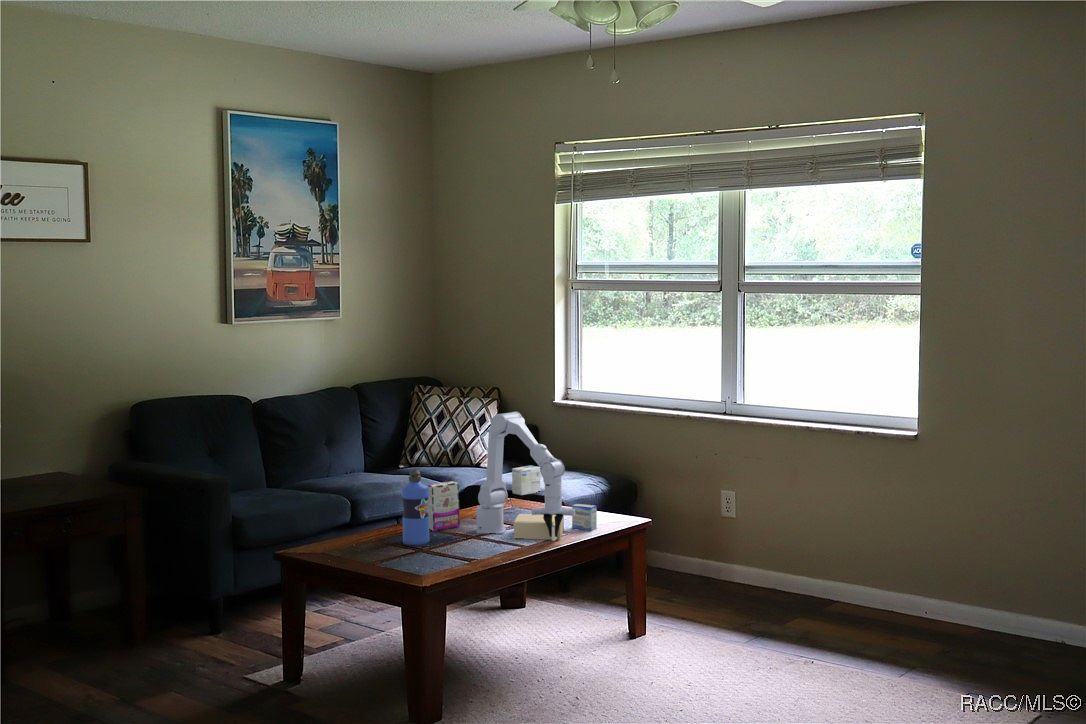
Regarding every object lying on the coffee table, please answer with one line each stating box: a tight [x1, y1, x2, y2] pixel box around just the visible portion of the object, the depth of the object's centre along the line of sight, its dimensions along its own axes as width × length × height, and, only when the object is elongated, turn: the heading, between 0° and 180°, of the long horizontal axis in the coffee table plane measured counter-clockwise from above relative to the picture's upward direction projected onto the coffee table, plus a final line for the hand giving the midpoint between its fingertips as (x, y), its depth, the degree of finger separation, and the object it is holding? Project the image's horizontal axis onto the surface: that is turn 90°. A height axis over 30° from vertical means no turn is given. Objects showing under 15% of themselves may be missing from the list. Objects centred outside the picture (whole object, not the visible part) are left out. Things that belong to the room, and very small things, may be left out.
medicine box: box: [571, 503, 598, 532], centre depth 382 cm, size 8×4×9 cm, turn 62°
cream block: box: [513, 521, 561, 542], centre depth 364 cm, size 16×7×6 cm, turn 82°
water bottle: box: [400, 468, 430, 546], centre depth 365 cm, size 9×9×25 cm
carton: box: [513, 513, 565, 540], centre depth 374 cm, size 16×12×6 cm
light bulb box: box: [511, 465, 541, 496], centre depth 450 cm, size 11×7×11 cm, turn 130°
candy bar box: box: [426, 480, 461, 532], centre depth 385 cm, size 11×5×16 cm, turn 126°
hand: (553, 536), depth 361 cm, fingers closed
